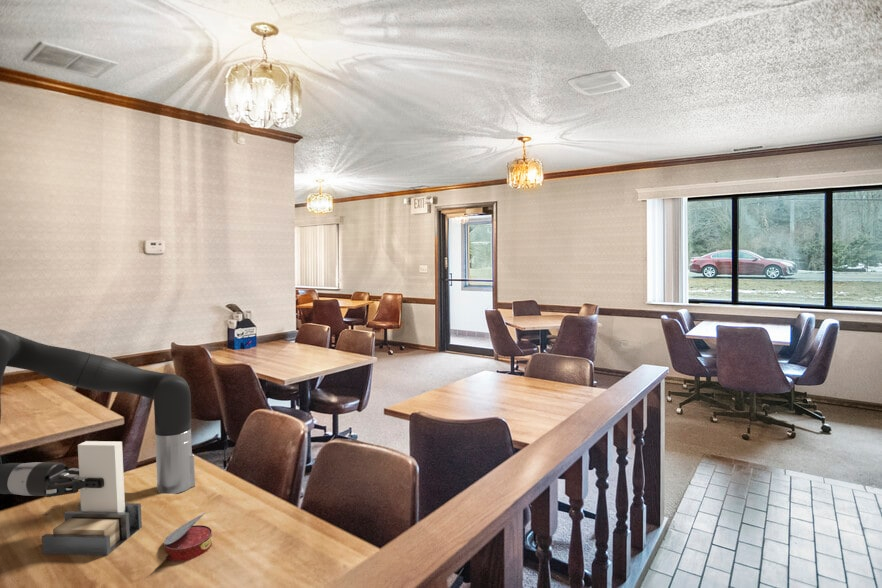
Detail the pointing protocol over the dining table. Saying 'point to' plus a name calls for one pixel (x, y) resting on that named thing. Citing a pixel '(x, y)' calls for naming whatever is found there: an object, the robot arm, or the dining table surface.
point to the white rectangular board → (102, 476)
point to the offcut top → (87, 527)
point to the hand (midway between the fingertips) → (107, 480)
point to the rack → (94, 543)
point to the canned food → (188, 541)
